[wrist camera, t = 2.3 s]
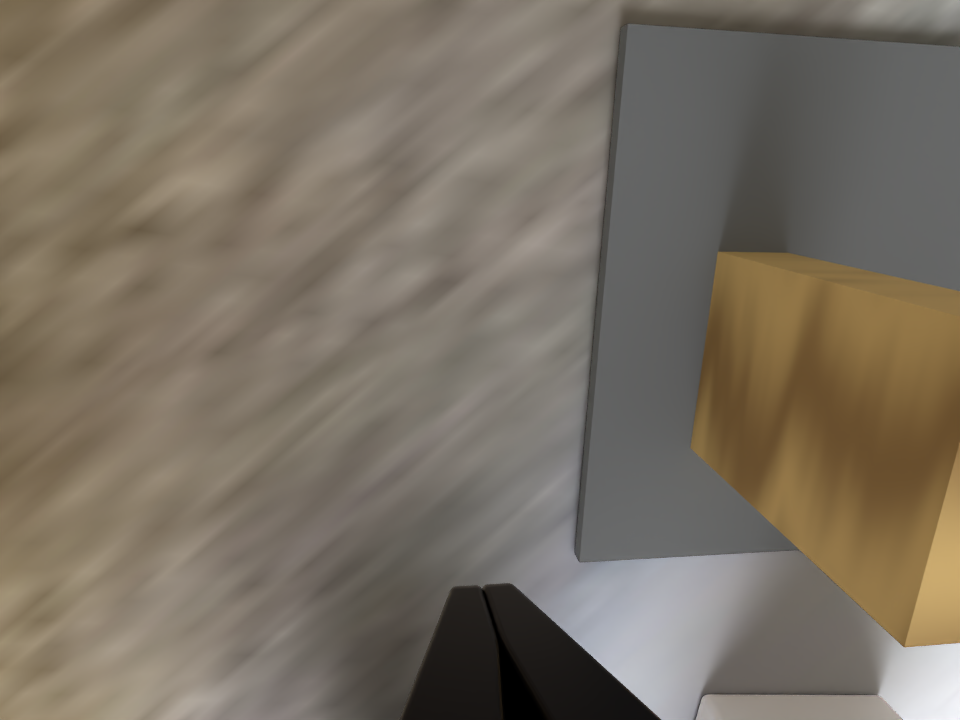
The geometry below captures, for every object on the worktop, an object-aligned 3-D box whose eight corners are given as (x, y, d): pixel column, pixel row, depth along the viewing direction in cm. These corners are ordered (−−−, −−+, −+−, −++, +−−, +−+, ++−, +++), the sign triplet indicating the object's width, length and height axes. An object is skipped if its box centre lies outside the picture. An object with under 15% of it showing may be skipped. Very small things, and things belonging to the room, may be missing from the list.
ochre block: (755, 446, 23) (1006, 638, 14) (690, 448, 23) (903, 647, 14) (788, 252, 21) (1109, 324, 12) (717, 251, 21) (991, 324, 12)
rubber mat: (990, 530, 27) (1003, 538, 26) (574, 553, 24) (579, 562, 24) (1130, 62, 22) (1149, 60, 21) (620, 27, 19) (628, 23, 19)
